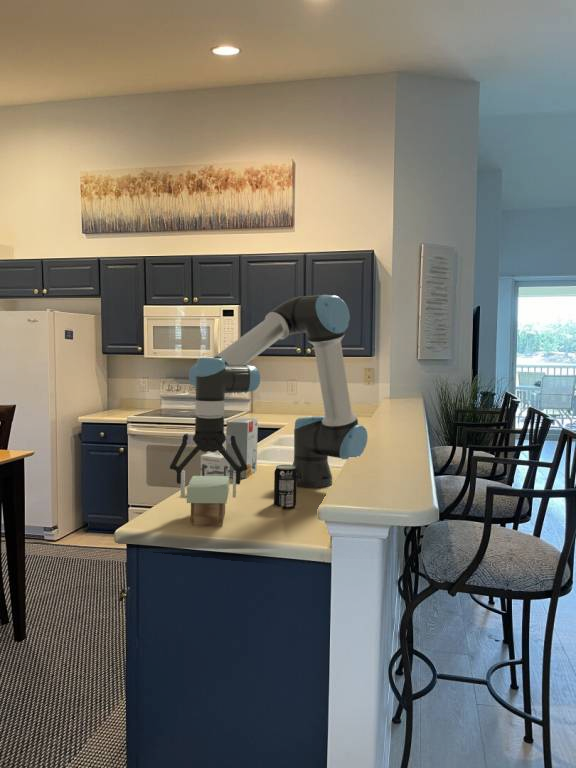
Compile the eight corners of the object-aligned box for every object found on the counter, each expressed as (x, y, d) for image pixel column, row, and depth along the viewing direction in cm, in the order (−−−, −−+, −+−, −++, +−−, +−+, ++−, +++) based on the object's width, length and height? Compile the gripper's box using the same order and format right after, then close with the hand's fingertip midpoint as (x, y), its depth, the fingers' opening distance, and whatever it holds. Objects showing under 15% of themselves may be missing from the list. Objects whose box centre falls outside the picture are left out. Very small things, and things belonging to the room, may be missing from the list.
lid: (229, 494, 173) (229, 476, 172) (226, 507, 159) (226, 487, 158) (192, 493, 172) (192, 475, 172) (186, 506, 158) (186, 487, 158)
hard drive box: (246, 479, 220) (247, 422, 219) (225, 477, 222) (226, 421, 220) (257, 470, 235) (258, 417, 234) (237, 469, 237) (238, 417, 236)
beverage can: (283, 502, 188) (284, 463, 187) (300, 506, 184) (301, 466, 183) (269, 507, 183) (269, 466, 182) (286, 511, 179) (287, 469, 178)
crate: (225, 515, 172) (225, 490, 172) (222, 529, 160) (222, 502, 159) (195, 515, 172) (196, 490, 172) (190, 529, 159) (190, 502, 159)
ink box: (199, 490, 201) (199, 454, 200) (207, 488, 205) (208, 452, 205) (221, 494, 197) (221, 457, 196) (230, 491, 201) (230, 455, 201)
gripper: (257, 415, 168) (255, 493, 170) (164, 413, 167) (163, 492, 168) (257, 418, 161) (255, 500, 162) (159, 417, 160) (158, 498, 161)
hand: (208, 496), depth 165 cm, fingers open, 13 cm apart
